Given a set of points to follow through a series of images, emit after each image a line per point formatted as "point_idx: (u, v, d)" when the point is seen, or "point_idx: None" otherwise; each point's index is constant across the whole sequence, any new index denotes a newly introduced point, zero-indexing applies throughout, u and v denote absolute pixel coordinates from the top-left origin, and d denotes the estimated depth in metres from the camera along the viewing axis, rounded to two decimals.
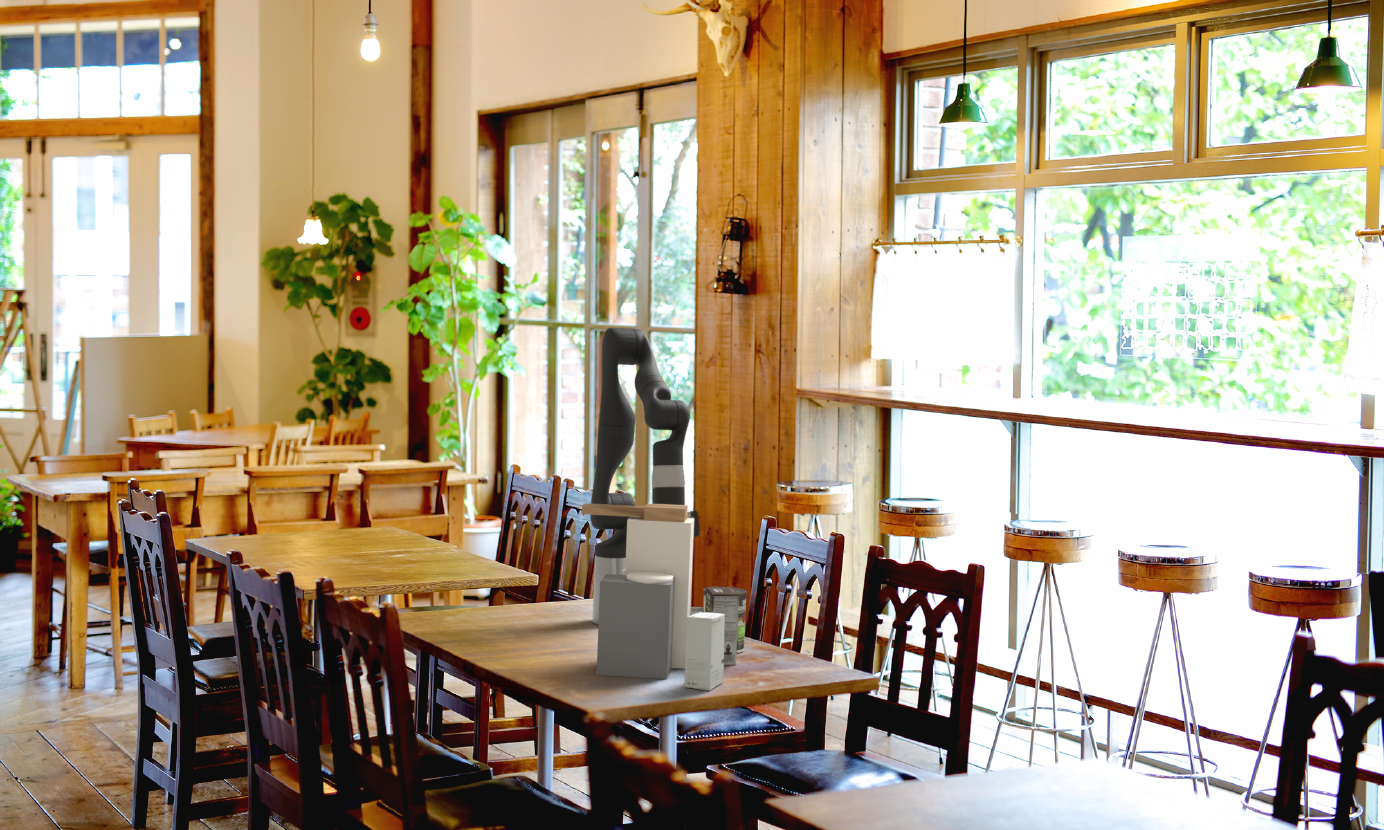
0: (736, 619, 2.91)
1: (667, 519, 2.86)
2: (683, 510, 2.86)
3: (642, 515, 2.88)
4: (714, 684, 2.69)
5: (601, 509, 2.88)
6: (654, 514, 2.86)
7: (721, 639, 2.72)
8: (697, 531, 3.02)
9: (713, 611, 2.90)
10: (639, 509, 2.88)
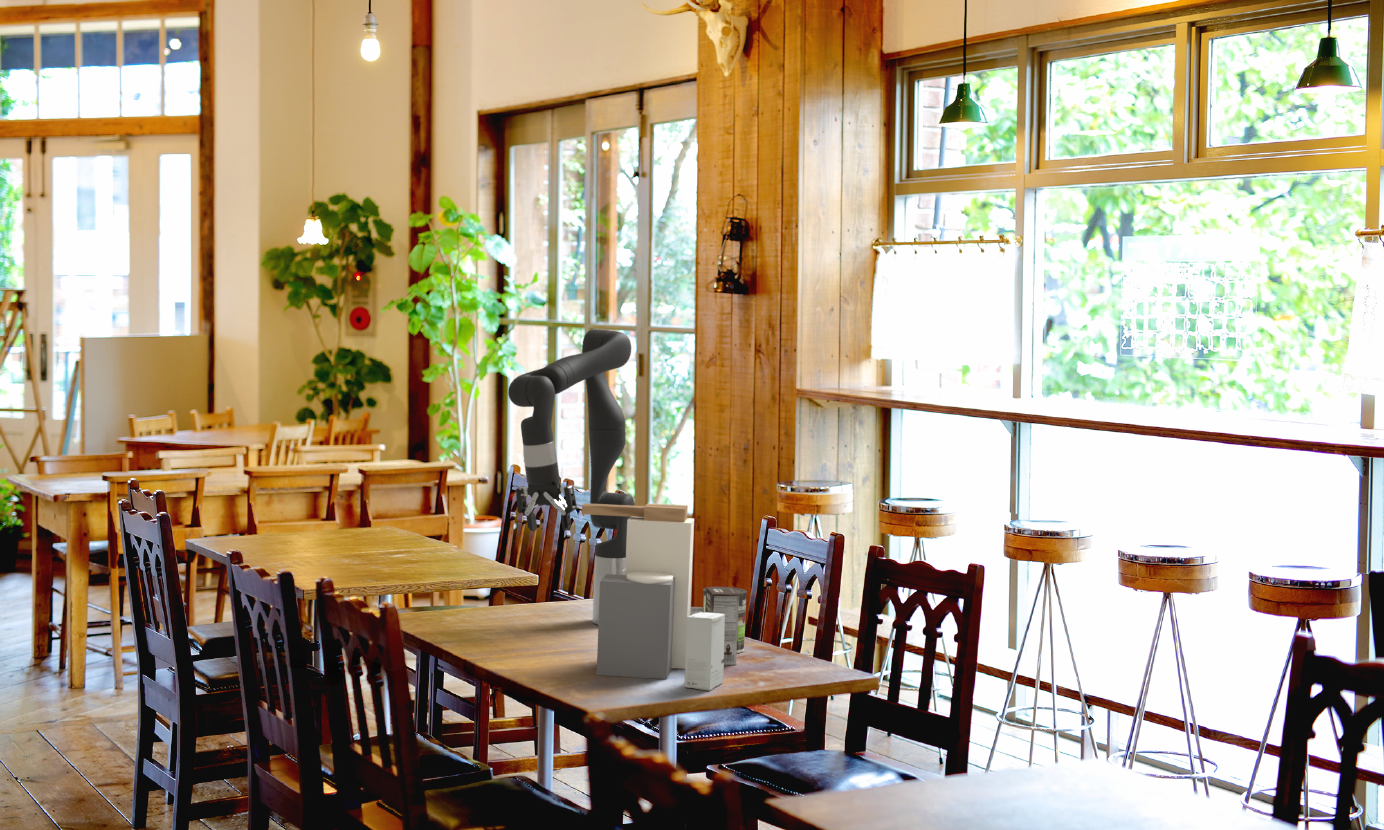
0: (736, 619, 2.91)
1: (667, 519, 2.86)
2: (683, 510, 2.86)
3: (642, 515, 2.88)
4: (714, 684, 2.69)
5: (601, 509, 2.88)
6: (654, 514, 2.86)
7: (721, 639, 2.72)
8: (570, 507, 2.97)
9: (713, 611, 2.90)
10: (639, 509, 2.88)
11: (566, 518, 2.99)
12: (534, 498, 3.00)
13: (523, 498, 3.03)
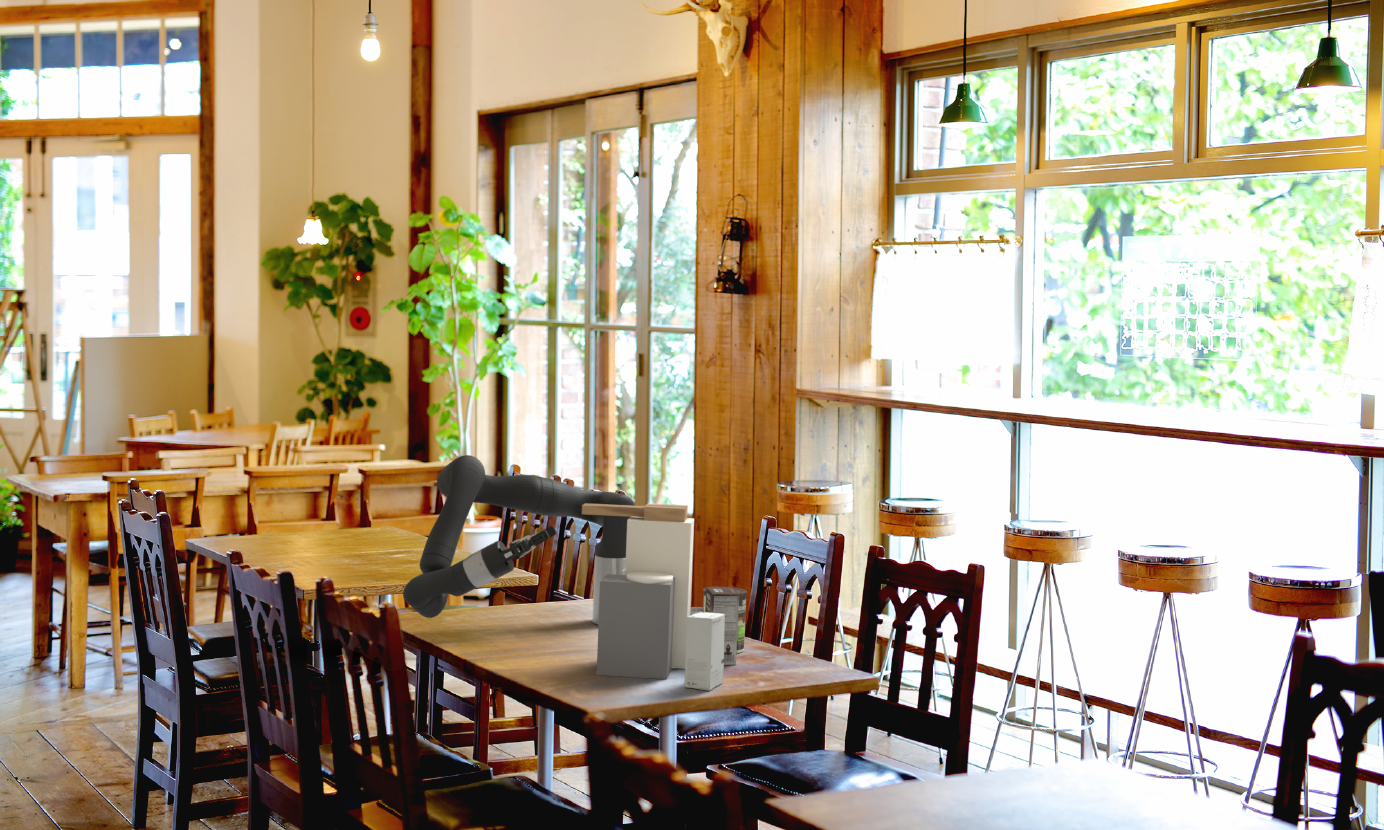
0: (736, 619, 2.91)
1: (667, 519, 2.86)
2: (683, 510, 2.86)
3: (642, 515, 2.88)
4: (714, 684, 2.69)
5: (601, 509, 2.88)
6: (654, 514, 2.86)
7: (721, 639, 2.72)
8: (525, 551, 2.85)
9: (713, 611, 2.90)
10: (639, 509, 2.88)
11: (536, 543, 2.87)
12: (525, 553, 2.94)
13: None
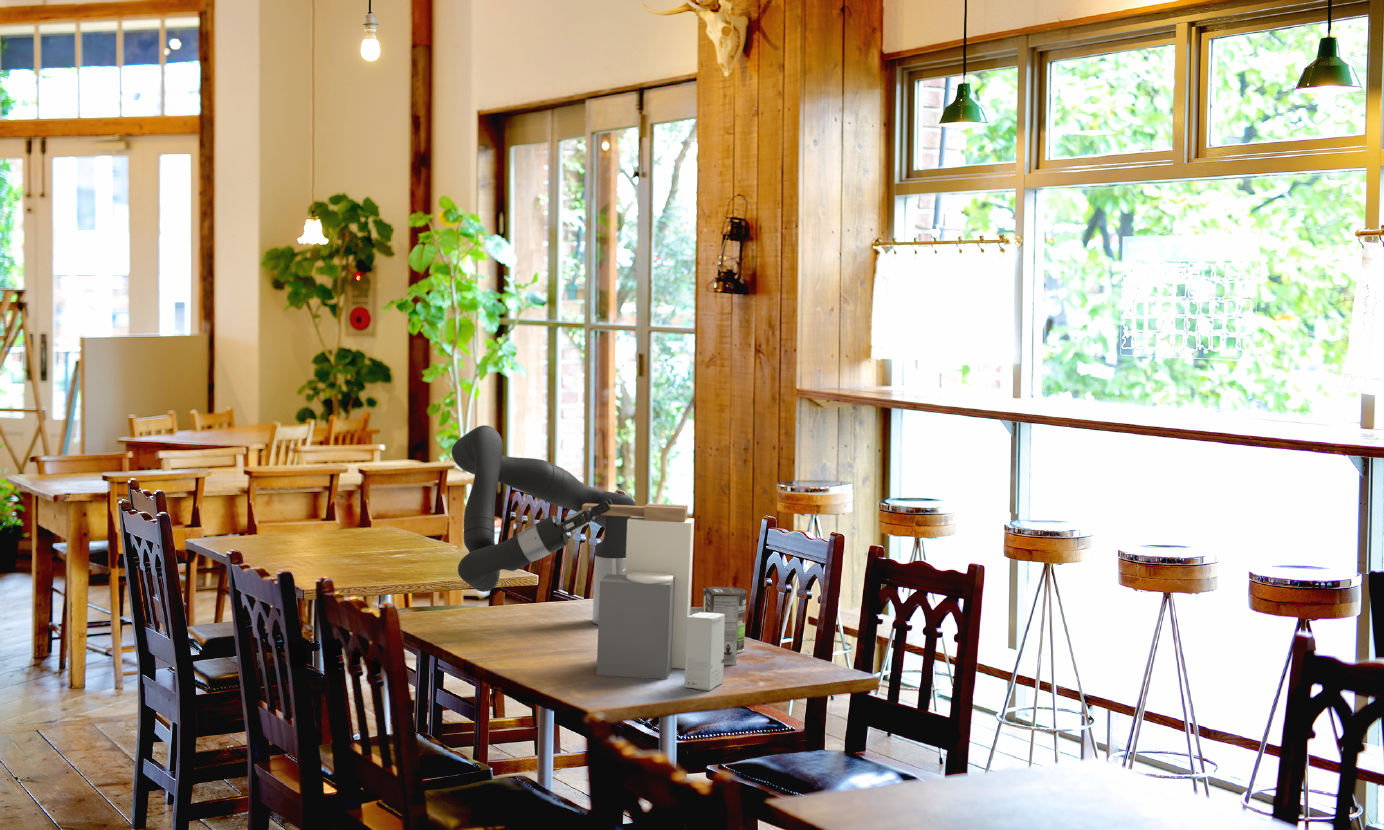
0: (736, 619, 2.91)
1: (667, 519, 2.86)
2: (683, 510, 2.86)
3: (642, 515, 2.88)
4: (714, 684, 2.69)
5: None
6: (654, 514, 2.86)
7: (721, 639, 2.72)
8: (587, 522, 2.86)
9: (713, 611, 2.90)
10: (639, 509, 2.88)
11: (598, 513, 2.87)
12: None
13: None
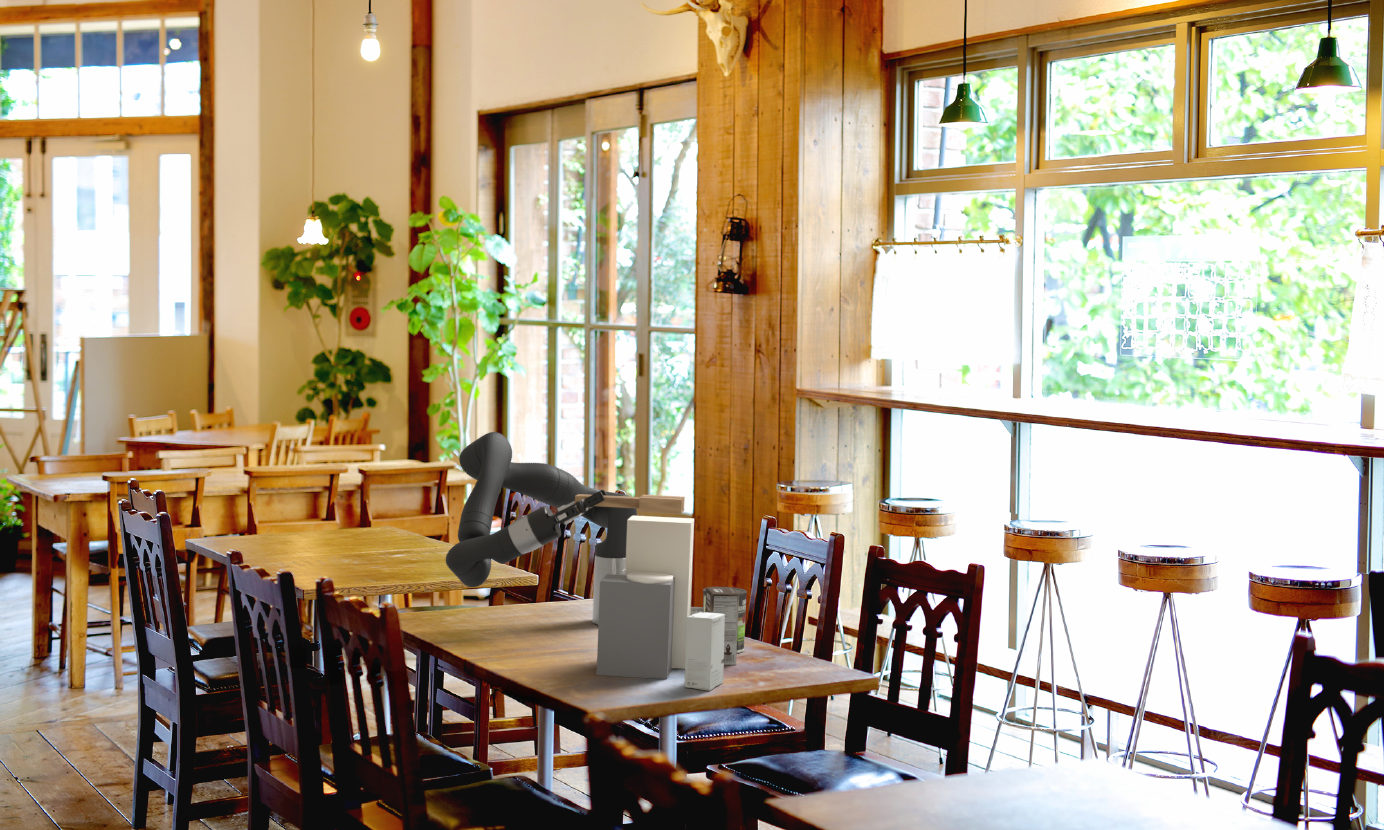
0: (736, 619, 2.91)
1: (663, 510, 2.76)
2: (680, 501, 2.75)
3: (637, 506, 2.78)
4: (714, 684, 2.69)
5: None
6: (650, 505, 2.76)
7: (721, 639, 2.72)
8: (580, 513, 2.76)
9: (713, 611, 2.90)
10: (634, 500, 2.78)
11: (591, 504, 2.77)
12: None
13: None
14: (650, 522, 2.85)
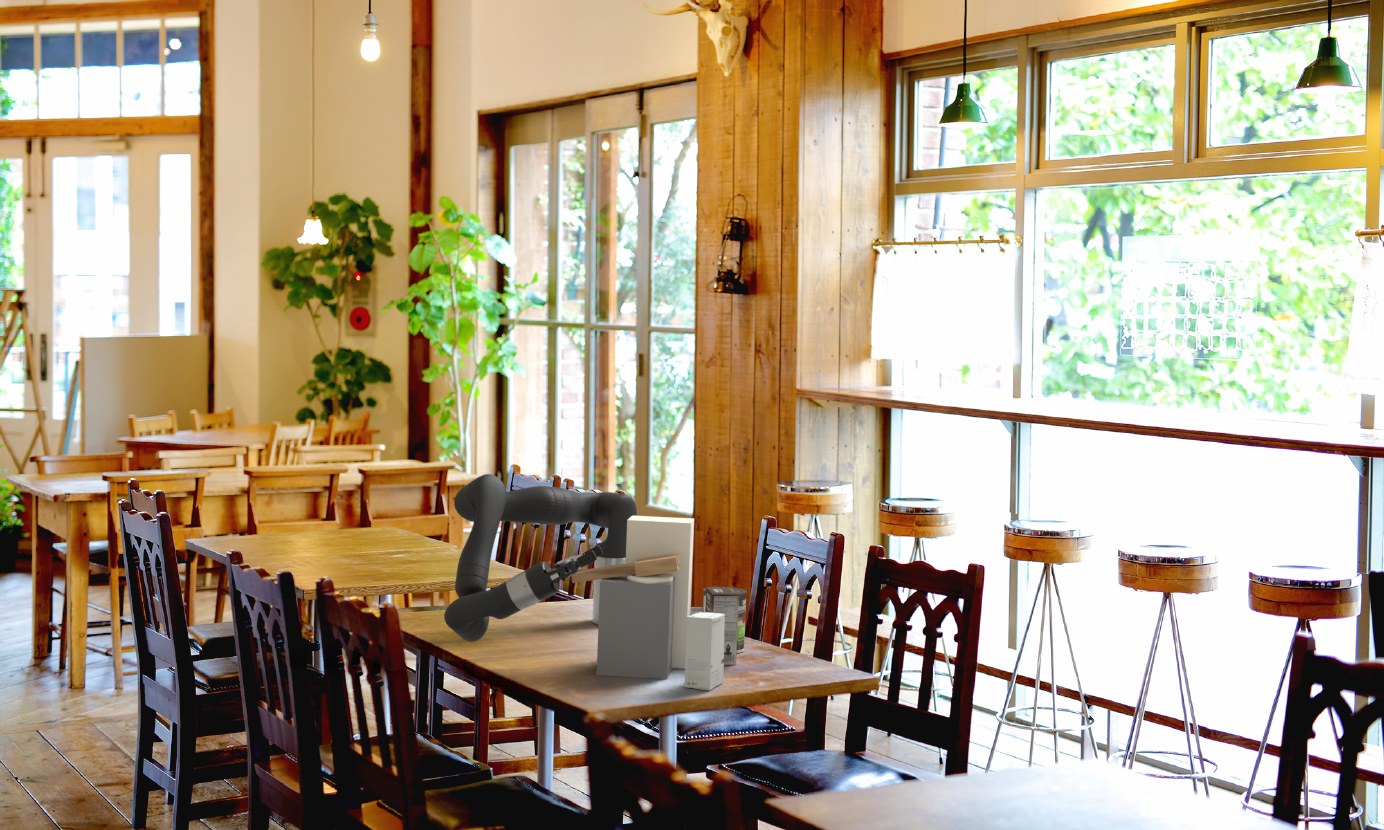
0: (736, 619, 2.91)
1: (660, 571, 2.76)
2: (674, 559, 2.76)
3: (634, 572, 2.78)
4: (714, 684, 2.69)
5: (591, 573, 2.79)
6: (645, 569, 2.77)
7: (721, 639, 2.72)
8: (572, 573, 2.75)
9: (713, 611, 2.90)
10: (630, 566, 2.78)
11: (584, 564, 2.76)
12: None
13: None
14: (650, 522, 2.85)
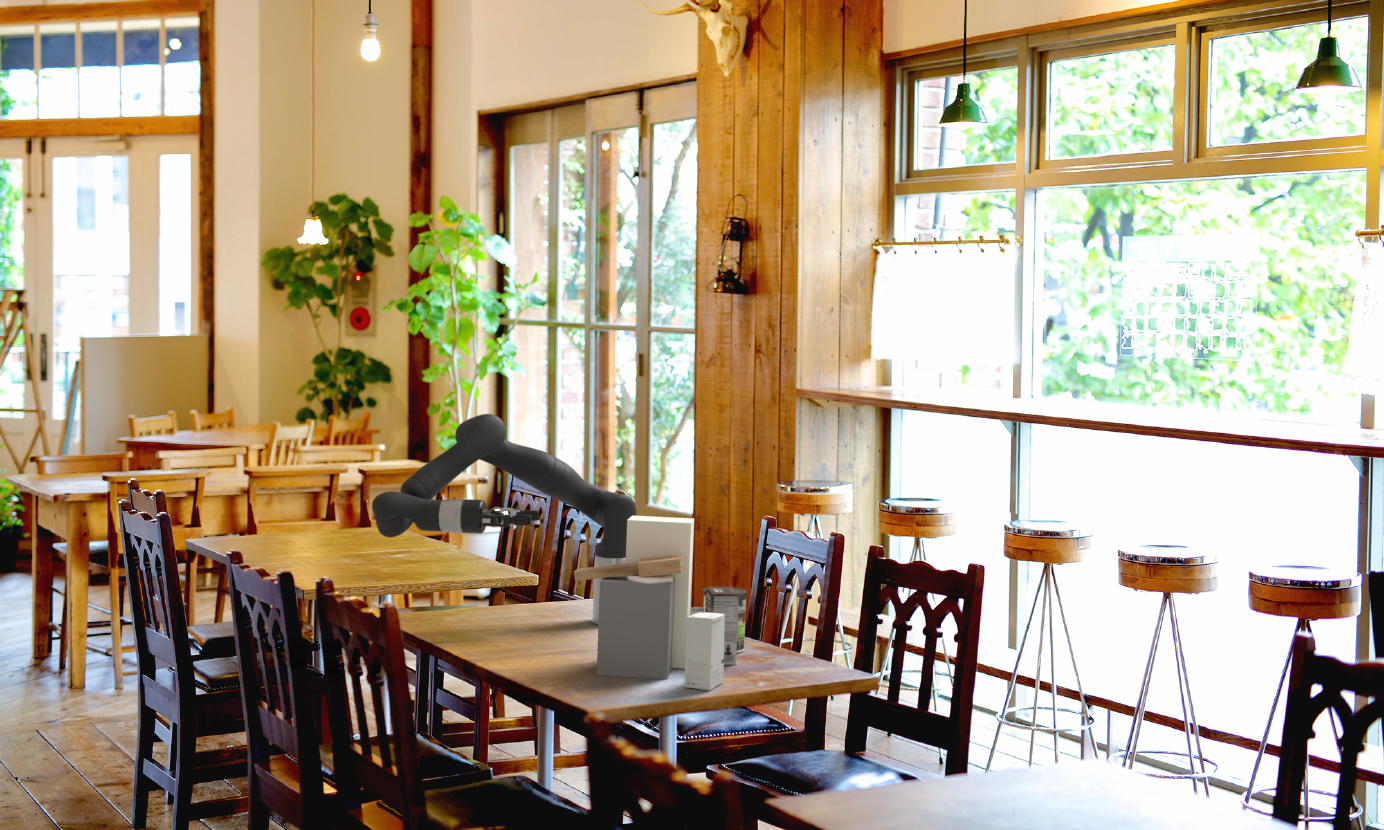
0: (736, 619, 2.91)
1: (663, 572, 2.76)
2: (678, 560, 2.76)
3: (637, 572, 2.78)
4: (714, 684, 2.69)
5: (594, 572, 2.79)
6: (649, 569, 2.77)
7: (721, 639, 2.72)
8: None
9: (713, 611, 2.90)
10: (633, 566, 2.78)
11: (517, 523, 2.84)
12: None
13: None
14: (650, 522, 2.85)
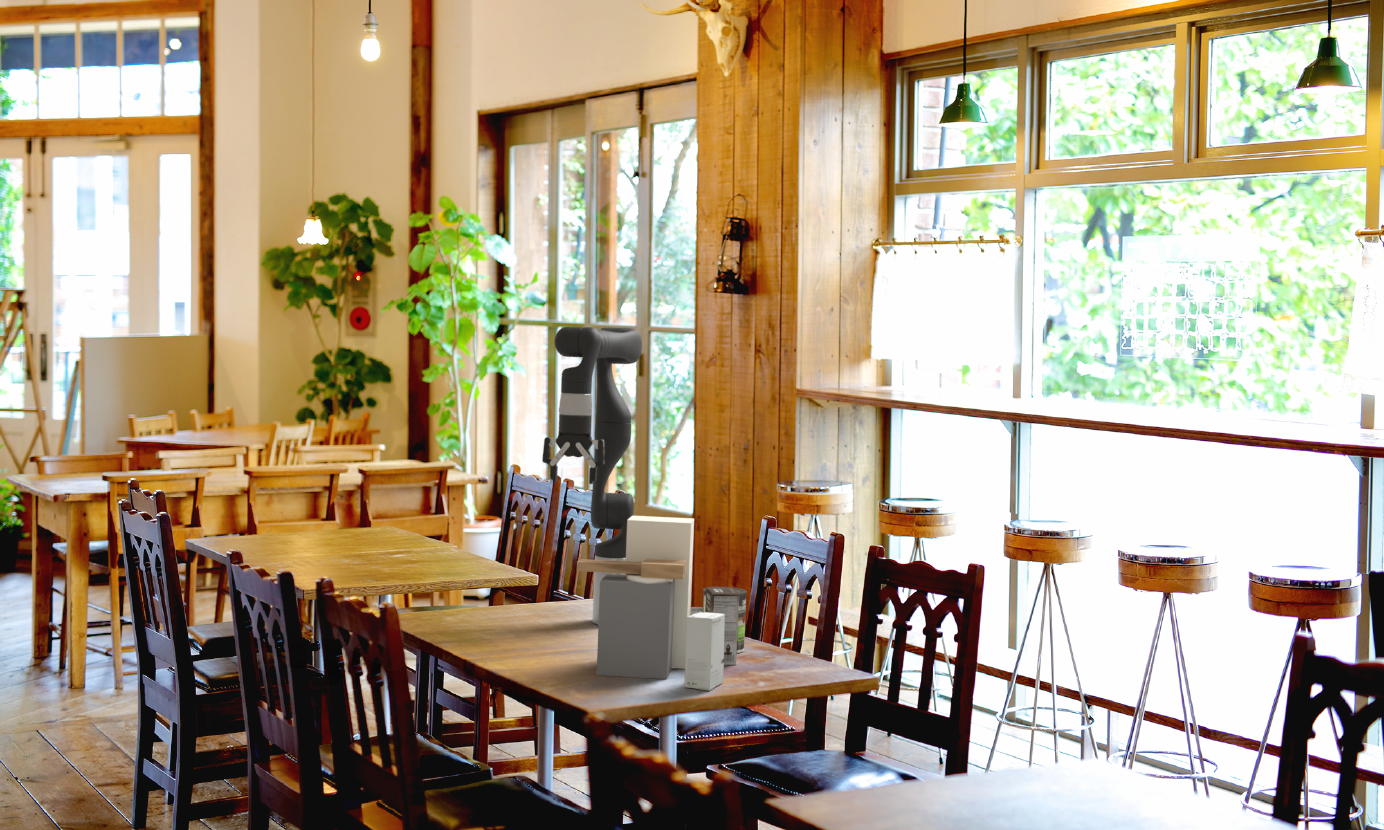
0: (736, 619, 2.91)
1: (665, 576, 2.76)
2: (682, 567, 2.76)
3: (639, 572, 2.78)
4: (714, 684, 2.69)
5: (597, 565, 2.79)
6: (651, 571, 2.76)
7: (721, 639, 2.72)
8: (601, 460, 3.01)
9: (713, 611, 2.90)
10: (636, 565, 2.78)
11: (594, 471, 3.01)
12: (564, 448, 3.01)
13: (549, 448, 3.03)
14: (650, 522, 2.85)
